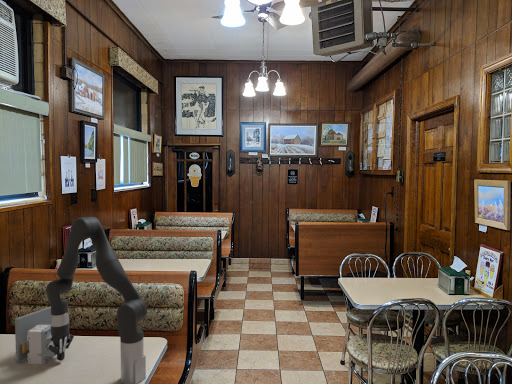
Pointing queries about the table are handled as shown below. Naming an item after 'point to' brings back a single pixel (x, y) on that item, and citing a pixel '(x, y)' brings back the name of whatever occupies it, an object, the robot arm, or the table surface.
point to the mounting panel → (29, 328)
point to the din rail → (24, 347)
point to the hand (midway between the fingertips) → (61, 359)
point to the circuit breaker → (39, 344)
